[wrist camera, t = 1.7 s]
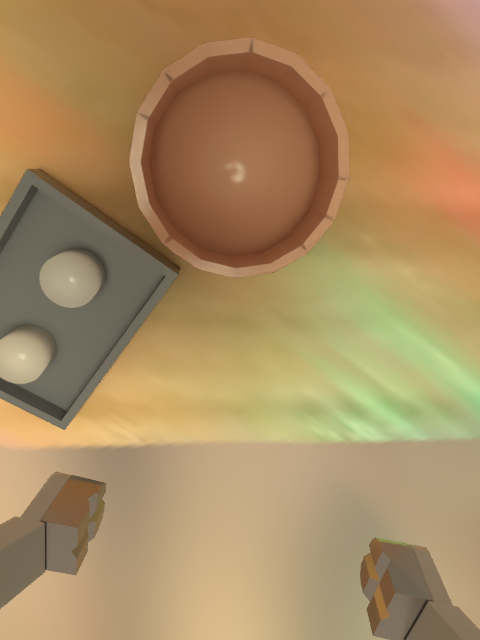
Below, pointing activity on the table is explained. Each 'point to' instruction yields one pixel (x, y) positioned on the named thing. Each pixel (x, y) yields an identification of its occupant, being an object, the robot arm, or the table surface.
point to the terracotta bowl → (239, 157)
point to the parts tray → (81, 322)
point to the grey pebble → (72, 277)
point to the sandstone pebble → (26, 353)
